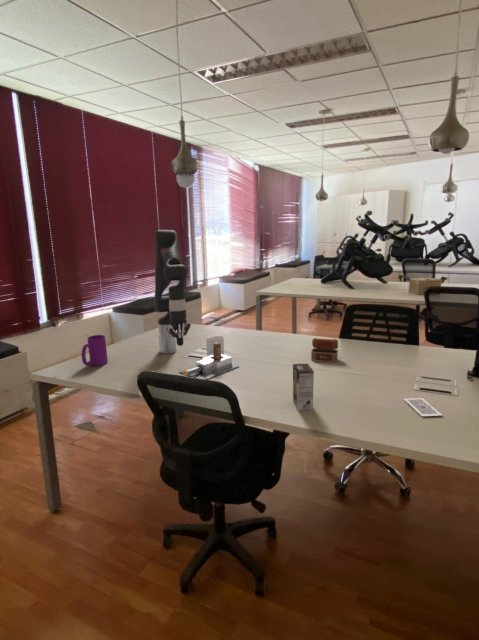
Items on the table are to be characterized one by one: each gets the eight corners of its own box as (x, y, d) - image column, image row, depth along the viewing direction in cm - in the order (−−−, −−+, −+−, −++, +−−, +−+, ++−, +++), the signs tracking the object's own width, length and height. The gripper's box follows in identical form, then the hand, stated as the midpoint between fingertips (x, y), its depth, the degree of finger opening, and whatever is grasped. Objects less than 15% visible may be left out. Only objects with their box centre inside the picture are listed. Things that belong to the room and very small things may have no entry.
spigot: (212, 365, 202) (211, 343, 199) (217, 363, 205) (216, 342, 202) (217, 367, 199) (216, 345, 196) (222, 365, 202) (222, 343, 199)
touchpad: (421, 418, 143) (422, 413, 143) (403, 401, 158) (403, 396, 157) (442, 417, 144) (443, 412, 143) (422, 400, 158) (422, 395, 158)
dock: (179, 372, 195) (178, 362, 194) (215, 359, 213) (214, 350, 212) (203, 381, 183) (202, 371, 182) (239, 366, 201) (238, 357, 200)
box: (294, 367, 200) (294, 345, 197) (302, 350, 226) (302, 331, 223) (350, 371, 192) (351, 348, 189) (352, 353, 218) (352, 333, 215)
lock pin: (183, 375, 188) (182, 370, 187) (203, 368, 197) (203, 363, 196) (187, 377, 186) (186, 371, 185) (207, 369, 195) (207, 364, 194)
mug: (111, 361, 215) (108, 335, 212) (90, 371, 201) (87, 343, 198) (98, 359, 219) (95, 334, 215) (77, 369, 205) (74, 341, 201)
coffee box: (292, 400, 160) (292, 363, 157) (307, 399, 161) (308, 362, 157) (297, 410, 151) (297, 371, 148) (313, 409, 152) (314, 370, 148)
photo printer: (221, 353, 224) (220, 332, 222) (225, 354, 221) (224, 334, 218) (205, 356, 219) (204, 335, 216) (209, 358, 215) (208, 337, 213)
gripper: (183, 305, 184) (185, 340, 188) (160, 310, 175) (163, 347, 178) (194, 307, 179) (196, 343, 183) (171, 312, 170) (174, 350, 173)
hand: (180, 345), depth 181 cm, fingers closed
